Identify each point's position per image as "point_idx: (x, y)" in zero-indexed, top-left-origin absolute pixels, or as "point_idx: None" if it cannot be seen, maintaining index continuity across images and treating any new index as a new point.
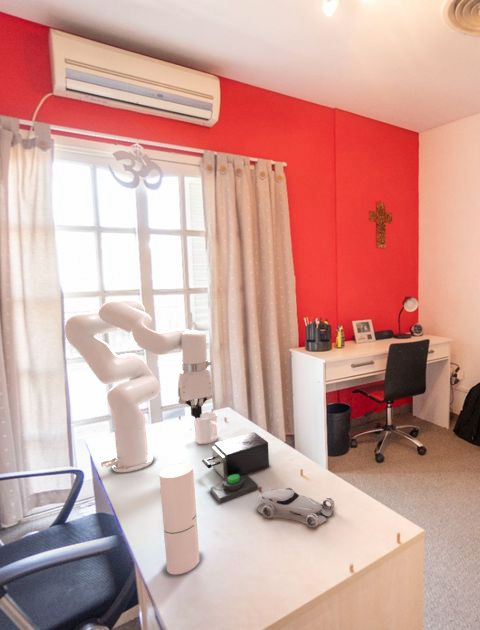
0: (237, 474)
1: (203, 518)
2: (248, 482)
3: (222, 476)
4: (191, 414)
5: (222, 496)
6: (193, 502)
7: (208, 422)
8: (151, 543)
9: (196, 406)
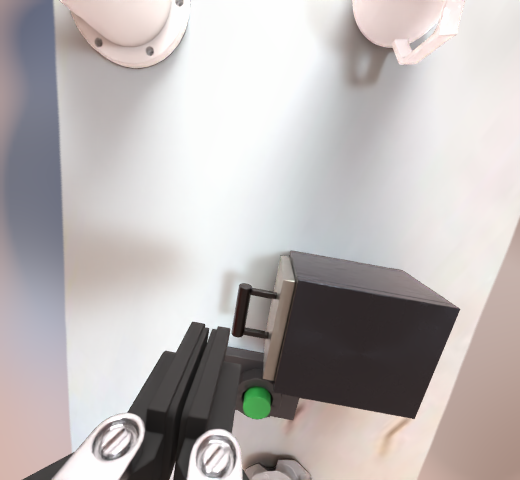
0: (269, 405)
1: None
2: (286, 400)
3: (266, 326)
4: (164, 354)
5: None
6: None
7: None
8: (89, 407)
9: (177, 452)
